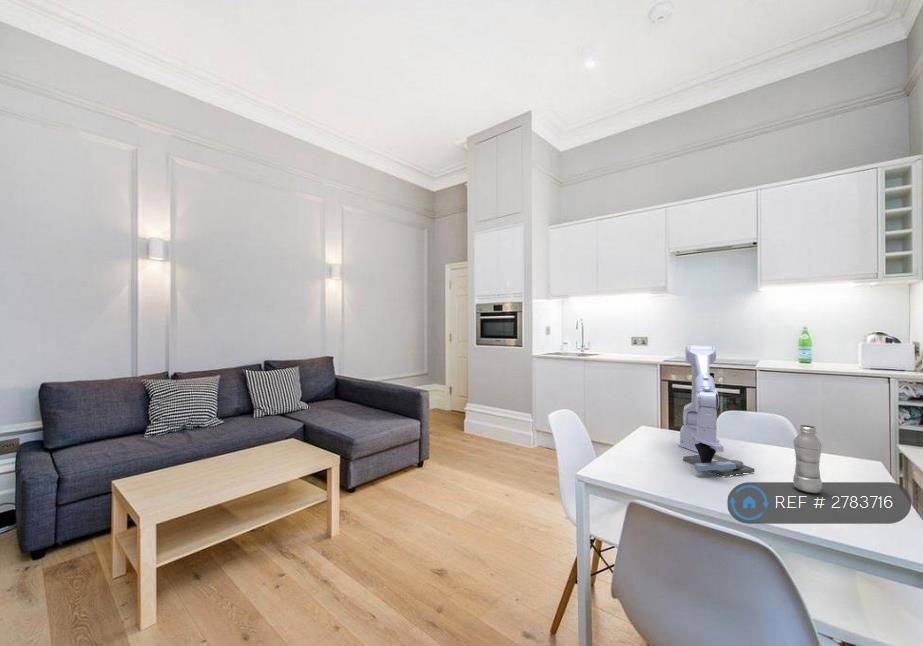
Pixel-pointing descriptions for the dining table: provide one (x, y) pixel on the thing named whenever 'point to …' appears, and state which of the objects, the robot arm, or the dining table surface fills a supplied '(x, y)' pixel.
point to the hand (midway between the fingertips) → (705, 466)
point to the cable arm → (719, 465)
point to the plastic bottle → (807, 460)
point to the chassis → (717, 458)
